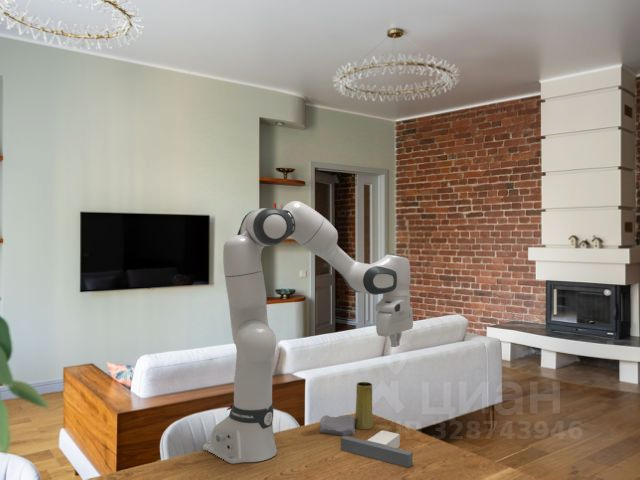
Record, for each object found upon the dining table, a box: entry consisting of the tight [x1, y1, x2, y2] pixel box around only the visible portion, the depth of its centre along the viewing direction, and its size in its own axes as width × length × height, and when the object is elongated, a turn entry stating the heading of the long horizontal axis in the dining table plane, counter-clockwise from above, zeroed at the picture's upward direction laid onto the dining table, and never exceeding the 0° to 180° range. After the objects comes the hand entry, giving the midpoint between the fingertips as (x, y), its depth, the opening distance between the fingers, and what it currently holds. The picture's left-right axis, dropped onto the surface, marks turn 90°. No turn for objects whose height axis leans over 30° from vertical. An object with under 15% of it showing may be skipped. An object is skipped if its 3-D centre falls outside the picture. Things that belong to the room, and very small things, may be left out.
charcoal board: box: [340, 435, 414, 469], centre depth 158 cm, size 22×2×4 cm, turn 57°
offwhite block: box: [366, 429, 401, 449], centre depth 164 cm, size 6×10×4 cm, turn 148°
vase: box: [354, 381, 374, 430], centre depth 183 cm, size 6×6×14 cm
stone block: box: [319, 414, 356, 437], centre depth 180 cm, size 12×5×10 cm
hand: (395, 346), depth 178 cm, fingers closed
